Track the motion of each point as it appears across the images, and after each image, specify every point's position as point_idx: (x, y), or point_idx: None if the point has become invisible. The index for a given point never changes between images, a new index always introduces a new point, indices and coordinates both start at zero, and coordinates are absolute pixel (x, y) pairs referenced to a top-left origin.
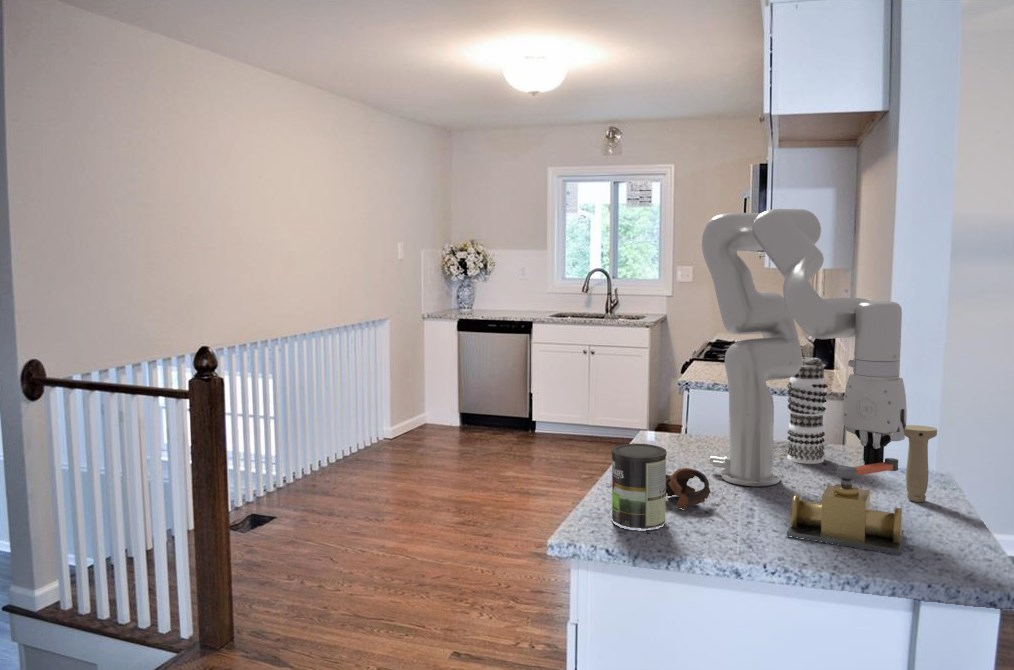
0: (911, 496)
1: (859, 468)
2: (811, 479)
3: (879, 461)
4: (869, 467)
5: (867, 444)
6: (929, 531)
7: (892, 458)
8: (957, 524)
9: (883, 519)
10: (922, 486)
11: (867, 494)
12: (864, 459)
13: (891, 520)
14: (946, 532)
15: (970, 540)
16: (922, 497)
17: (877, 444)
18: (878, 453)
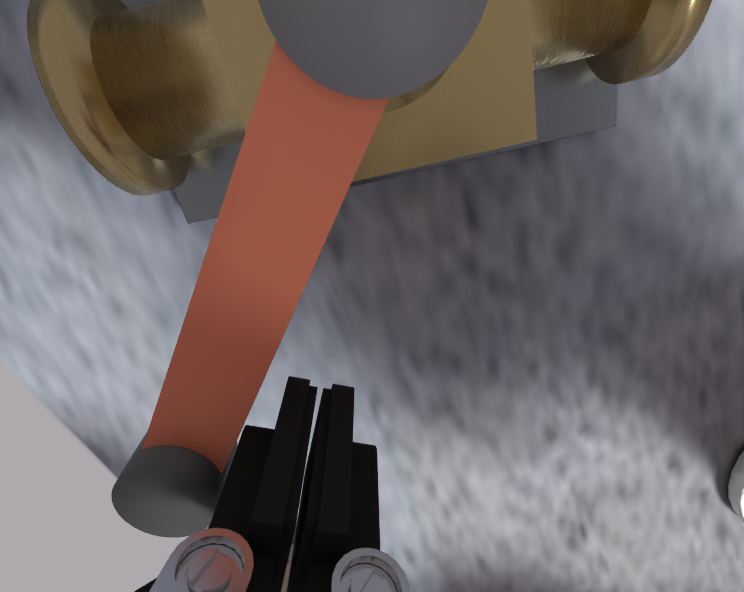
0: None
1: (282, 139)
2: (628, 550)
3: (239, 447)
4: (226, 245)
5: (331, 578)
6: (159, 323)
7: (176, 531)
8: (135, 433)
9: (143, 18)
10: (283, 587)
11: (235, 84)
12: (352, 427)
13: (103, 30)
14: (117, 347)
15: (26, 321)
16: (291, 554)
17: (189, 583)
18: (222, 498)
